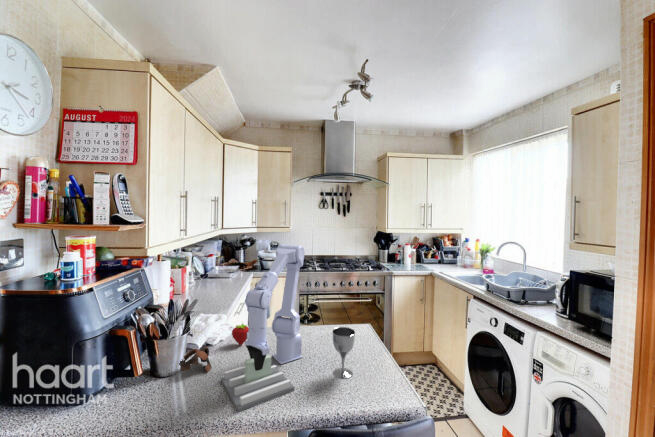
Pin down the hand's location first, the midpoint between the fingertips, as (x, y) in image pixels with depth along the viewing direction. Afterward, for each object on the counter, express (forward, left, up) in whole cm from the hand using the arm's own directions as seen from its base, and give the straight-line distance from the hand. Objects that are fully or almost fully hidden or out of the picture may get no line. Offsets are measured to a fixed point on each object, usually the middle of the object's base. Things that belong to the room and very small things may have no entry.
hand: (257, 367), depth 93 cm
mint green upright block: (0, 0, -4) cm, 4 cm away
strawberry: (-5, -31, -6) cm, 32 cm away
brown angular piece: (+14, -21, -6) cm, 26 cm away
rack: (0, 0, -6) cm, 6 cm away
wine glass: (-28, +10, -6) cm, 30 cm away
